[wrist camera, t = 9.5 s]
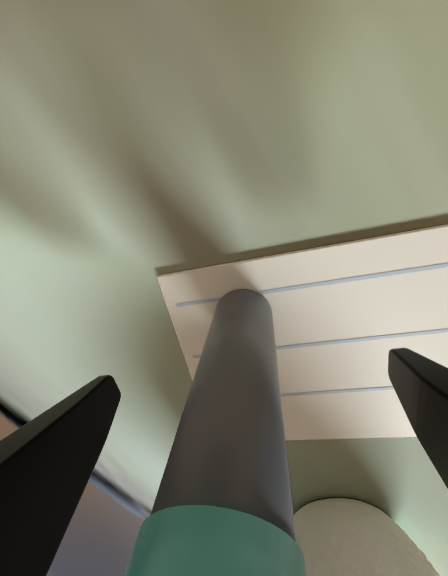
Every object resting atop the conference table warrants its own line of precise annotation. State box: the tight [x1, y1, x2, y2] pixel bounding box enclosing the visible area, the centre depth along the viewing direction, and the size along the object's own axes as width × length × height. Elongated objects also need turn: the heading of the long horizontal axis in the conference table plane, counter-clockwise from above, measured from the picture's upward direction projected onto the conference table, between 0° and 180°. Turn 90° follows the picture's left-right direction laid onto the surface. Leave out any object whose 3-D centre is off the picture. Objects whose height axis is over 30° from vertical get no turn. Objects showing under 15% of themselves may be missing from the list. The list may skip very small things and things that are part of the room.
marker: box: [124, 289, 306, 576], centre depth 7 cm, size 3×3×10 cm
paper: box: [157, 224, 448, 441], centre depth 12 cm, size 15×11×1 cm
